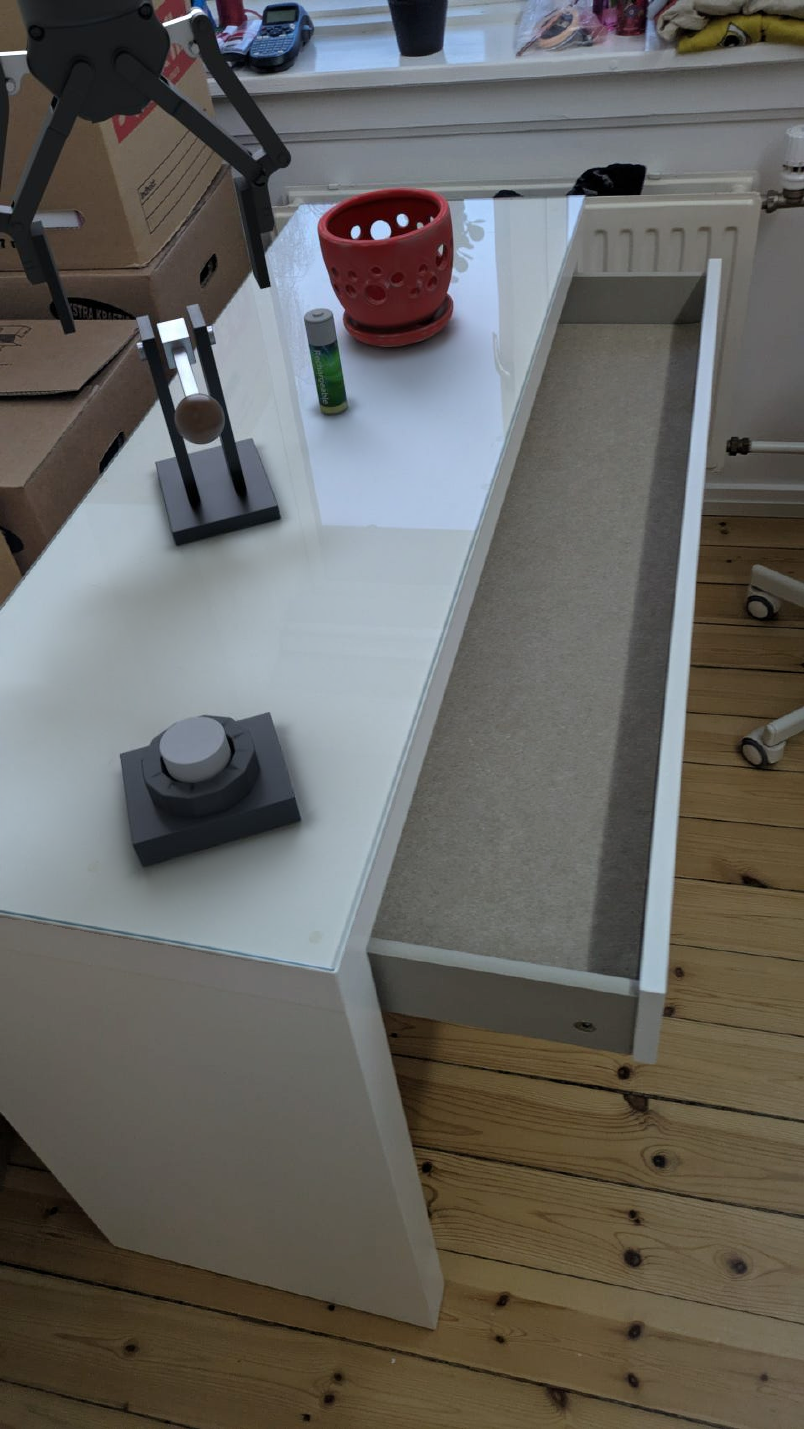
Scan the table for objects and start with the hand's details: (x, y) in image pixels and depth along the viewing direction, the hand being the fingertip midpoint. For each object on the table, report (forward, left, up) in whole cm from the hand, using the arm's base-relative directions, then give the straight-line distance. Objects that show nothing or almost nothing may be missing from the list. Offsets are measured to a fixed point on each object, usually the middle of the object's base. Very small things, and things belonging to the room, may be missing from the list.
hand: (166, 303), depth 76 cm
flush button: (-6, -27, -17) cm, 33 cm away
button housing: (-6, -27, -20) cm, 35 cm away
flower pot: (+23, +31, -20) cm, 44 cm away
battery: (+13, +18, -20) cm, 30 cm away
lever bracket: (0, +8, -20) cm, 22 cm away
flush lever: (0, +3, -9) cm, 9 cm away
